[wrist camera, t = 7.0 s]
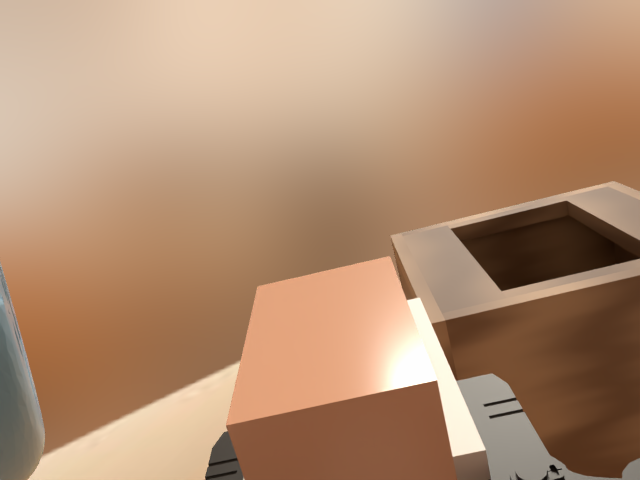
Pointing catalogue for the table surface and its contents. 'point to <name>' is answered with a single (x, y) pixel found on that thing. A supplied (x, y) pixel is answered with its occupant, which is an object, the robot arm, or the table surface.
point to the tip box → (544, 314)
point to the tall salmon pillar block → (338, 383)
